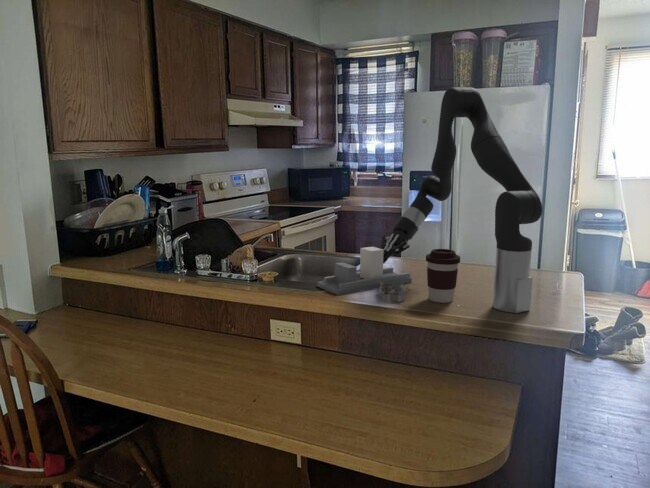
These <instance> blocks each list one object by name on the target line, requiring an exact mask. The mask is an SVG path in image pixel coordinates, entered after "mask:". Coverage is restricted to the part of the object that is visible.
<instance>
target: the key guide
mask: <svg viewBox="0 0 650 488" xmlns="http://www.w3.org/2000/svg"><path fill="white" fill-rule="evenodd" d="M412 280H413V279H412V277H411V273H410V272H403V273H397V272H394V267H383V276H382V277H376V278H369V279H364V278H361V277H360V271H358V272H357V273H356V281H352V282H344V283H338V282H336V281H335V275H331V276H330V275H329V276H324V277H323V280H321V281H317V282H316V283H317V287H318V288H320V289H322V290H325V291H327V292H329V293H331V294H334V295H336V296H341V295H346V294H352V293H357V292H363V291H369V290H375V289H380V281H382V283H386V284H387V286H388V287H391V285H392V284H393V285H394V286H396V285H404V284H410V283H412Z"/></svg>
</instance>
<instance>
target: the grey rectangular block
mask: <svg viewBox="0 0 650 488" xmlns="http://www.w3.org/2000/svg"><path fill="white" fill-rule="evenodd" d="M357 269H358V268H357V266H354V265H352V264H348V263H347V262H336V263H334V276H335V281H336V282H338V283H344V282H352V281H356V273H357V271H358V270H357Z"/></svg>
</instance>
